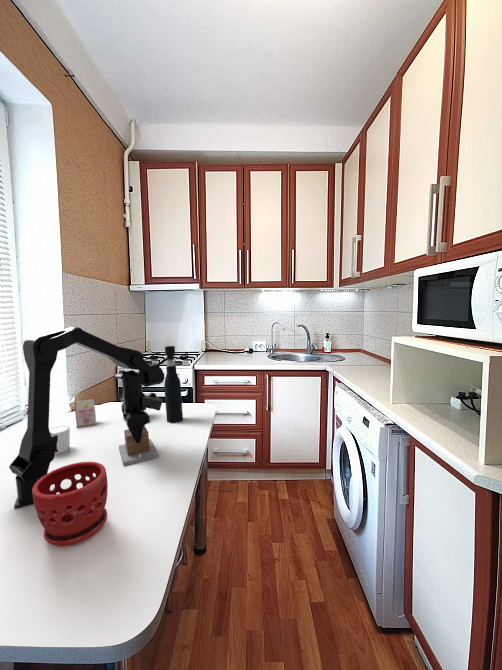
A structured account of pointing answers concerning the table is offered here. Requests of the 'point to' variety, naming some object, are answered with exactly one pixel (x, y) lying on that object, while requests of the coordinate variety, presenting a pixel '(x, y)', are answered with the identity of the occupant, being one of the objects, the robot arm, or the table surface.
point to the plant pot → (71, 503)
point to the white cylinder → (62, 438)
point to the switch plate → (137, 457)
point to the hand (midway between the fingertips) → (136, 438)
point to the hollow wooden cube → (135, 447)
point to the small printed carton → (85, 413)
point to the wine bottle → (172, 389)
